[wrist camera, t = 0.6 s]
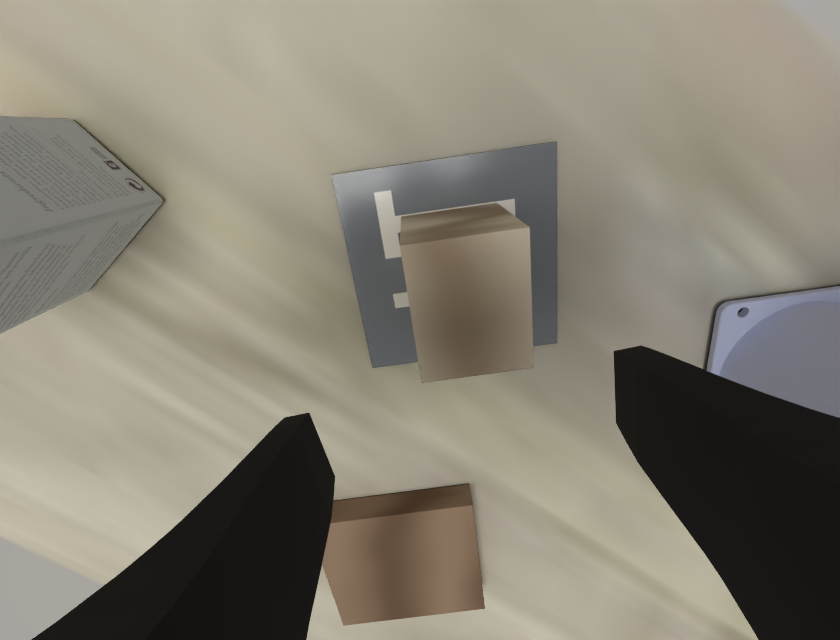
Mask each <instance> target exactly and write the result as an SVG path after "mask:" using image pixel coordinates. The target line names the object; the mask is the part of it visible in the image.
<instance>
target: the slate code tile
mask: <svg viewBox="0 0 840 640" xmlns="http://www.w3.org/2000/svg"><path fill="white" fill-rule="evenodd" d="M332 180H333V184H334V189H335V194H336V199H337V203H338V208H339V213H340V217H341V222H342V227H343V231H344V236H345V241H346V245H347V250H348V255H349V260H350V264H351V269H352V274H353V278H354V283H355V288H356V292H357V297H358V302H359V306H360V311H361V316H362V321H363V325H364V330H365V335H366V339H367V344H368V349H369V353H370V358H371V363H372V367H373V368H377V367H384V366H391V365H399V364H406V363H413V362H418V357H417V351H416V344H415V338H414V332H413V325H412V319H411V313H410V307H409V300H408V294H407V288H406V282H405V275H404V269H403V263H402V257H401V250H400V231H401V216H408V215H415V214H422V213H429V212H436V211H443V210H449V209H456V208H463V207H470V206H477V205H484V204H491V203H498V204H499V205H501V206H502V207H503V208H505V209H506V210H507V211H509V212H510V213H511V214H513V215H514V216H515V217H517V218H518V219H519V220H521V221H522V222H523V223H525V224H526V225H527V226H529V227H530V255H531V291H532V326H533V346H538V345H546V344H553V343H557V142H549V143H542V144H535V145H528V146H522V147H515V148H508V149H502V150H495V151H488V152H481V153H475V154H468V155H461V156H454V157H448V158H441V159H434V160H428V161H421V162H414V163H407V164H401V165H394V166H387V167H380V168H374V169H367V170H360V171H354V172H347V173H340V174H333V175H332Z"/></svg>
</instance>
